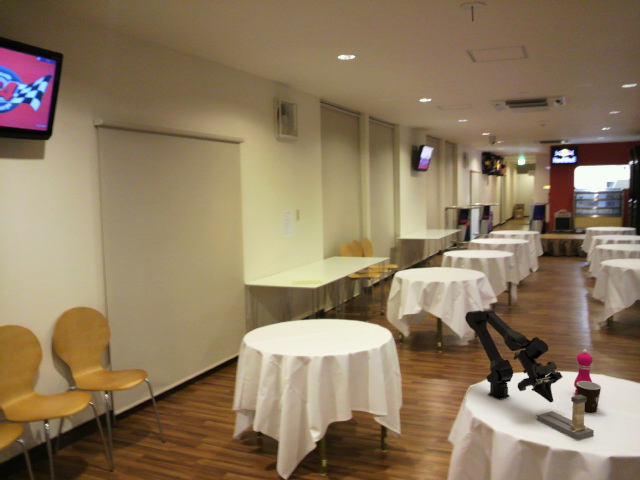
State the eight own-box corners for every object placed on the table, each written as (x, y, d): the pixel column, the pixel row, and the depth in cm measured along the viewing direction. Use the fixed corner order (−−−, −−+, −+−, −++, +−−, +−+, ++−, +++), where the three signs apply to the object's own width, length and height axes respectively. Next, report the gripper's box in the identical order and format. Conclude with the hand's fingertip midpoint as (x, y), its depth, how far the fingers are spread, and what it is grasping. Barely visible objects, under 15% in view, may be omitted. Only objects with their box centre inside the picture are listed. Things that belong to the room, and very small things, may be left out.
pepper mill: (595, 398, 219) (598, 352, 217) (578, 398, 219) (580, 352, 217) (587, 391, 226) (589, 346, 224) (570, 391, 227) (572, 346, 224)
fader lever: (569, 427, 189) (570, 396, 187) (578, 424, 191) (579, 394, 189) (576, 431, 186) (578, 399, 185) (585, 428, 188) (587, 397, 187)
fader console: (536, 420, 200) (536, 414, 200) (551, 415, 203) (551, 410, 203) (577, 440, 184) (578, 434, 184) (593, 435, 187) (593, 430, 187)
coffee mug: (586, 415, 204) (587, 390, 203) (570, 406, 212) (571, 382, 211) (611, 411, 207) (612, 387, 206) (594, 403, 215) (595, 379, 214)
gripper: (524, 358, 197) (547, 397, 188) (559, 351, 205) (583, 388, 196) (508, 371, 205) (529, 410, 196) (542, 364, 213) (564, 400, 204)
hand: (552, 402), depth 198 cm, fingers closed
